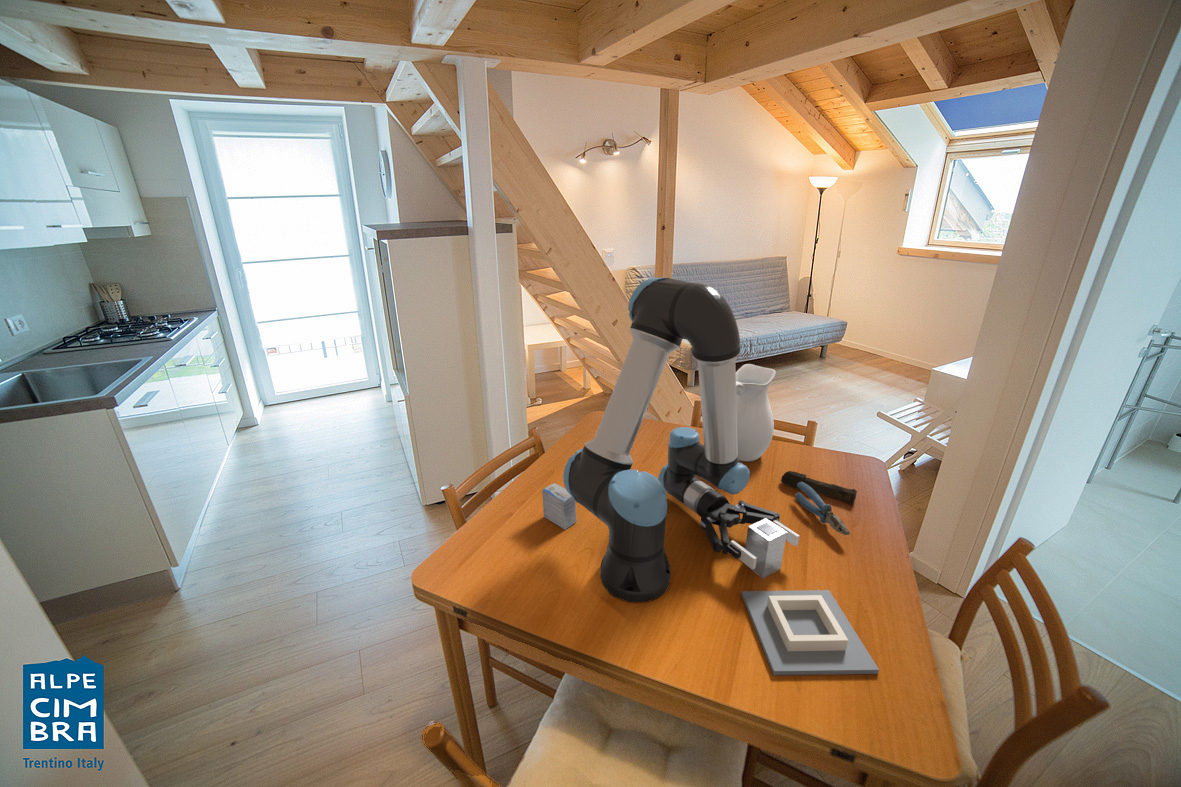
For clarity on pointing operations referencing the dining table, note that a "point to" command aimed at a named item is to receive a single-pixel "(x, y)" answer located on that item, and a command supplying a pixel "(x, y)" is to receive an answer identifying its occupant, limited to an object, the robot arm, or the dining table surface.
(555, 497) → the medicine box
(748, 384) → the pitcher
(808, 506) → the pliers
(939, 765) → the dining table surface
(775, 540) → the tall square post
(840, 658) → the cradle
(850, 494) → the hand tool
